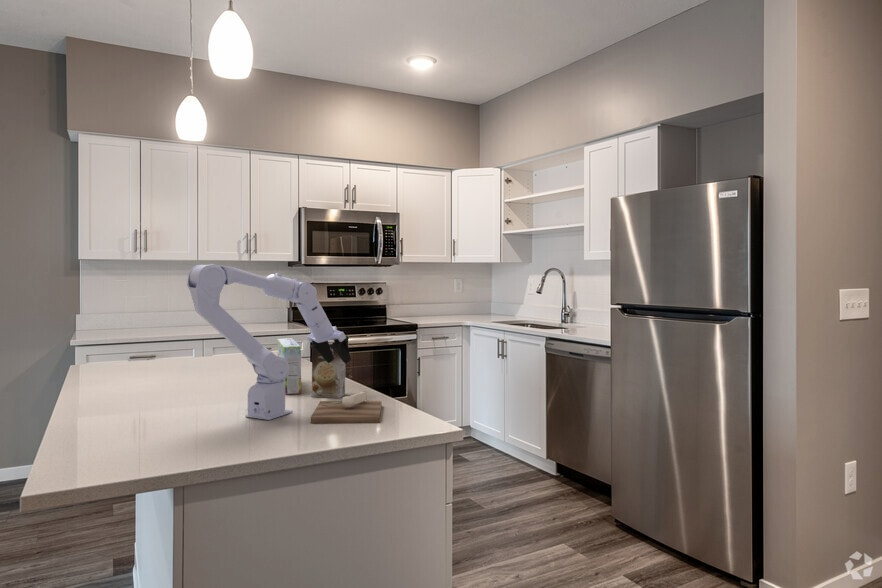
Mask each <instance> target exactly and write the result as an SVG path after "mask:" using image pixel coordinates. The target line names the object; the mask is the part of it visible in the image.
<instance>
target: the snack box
mask: <svg viewBox="0 0 882 588" xmlns="http://www.w3.org/2000/svg"><path fill="white" fill-rule="evenodd" d="M301 349H302V348H301V345H300V344H298V342H297V341H296V340H294V339H293V337H290V338H289V337H286V338H277V356H278V357H282V358H284V359H286V360H287V362H288V364H289V373H288V375H287V376H286V377H285V396H287V395H289V396H290V395H300V394H302V364H301V363H302V358H301V357H302V353H301V352H302V351H301Z"/></svg>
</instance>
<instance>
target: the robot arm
mask: <svg viewBox="0 0 882 588" xmlns="http://www.w3.org/2000/svg"><path fill="white" fill-rule="evenodd" d="M231 284H240V285H245V286H249V287H253V288H258V289H262V291H263V292H264V295H266V296H269V297H273V298H277V299H281V300H286V301H289V302H291V303H294V304H295V303H296V304H295V305H296V307H297V309H298V311H299V313H300V315H301V317H302V318H303V320H304V321H305V323H306V325H307V327H308V329H309V330H310V332H311V333H309V335H307V336H306V338H307V340H308V341H309V342H310V343H312V344H310V345H309V348H310V349H311V350H312V349H313V350H315V351H316V352H317V353H319V354H320V355H321V356H322V357H323V358H324V359H325V360H326V361H327V362H328V363H330V362H331V361H332V360H334V356H333V354H332V352H331V349H330V348H332V349H333V350H334V351H335V352H336V353H337V354H338V355H339V357H340V358H341V359H342V361H343V362H344V363H345V364H349V362H350V361H351V360H352V358H351V353H350V350H349V349H350V347H349V336H348V335H346V334H345V333H344V331H340V330H338V328H337V326H336V325H335V326H332V323H331V322H330V320H329V318H328V316H327V314H326V312H325V310H324V309H323V307H322V305H321V303H320V301H319V300H318V298H317V294H318V291H317V287H315V286H314V285H313V284H311V283H310V282H307V281H306V282H305V281H304V282H303V281H299V279H298V278H294V277H293V278H289V277H286V276H283V274H282V273H279V272H275V274H274V273H271V274H269V275H267V276H263V275H260V274H257V273H253V272H250V271H247V270H243V269H240V268H238V267H233V266H228V265H227V266H226V265H218V264H215V263H209V264H197V265H194V266H193V267H192V268H191V269H190V270H189V272H188V276H187V283H186V285H187V287H188V290H189V291H190V296H191V299H192V304H193V306H194V310H195V312H196V313H197V314H198V315H199V316H201V318H202V319H203V320H204V321H206V323H208V324H209V325H210V326H211V327H212V328H213V329H215V331H217V333H219V334H220V335H221V336H223V338H224V339H225V340H227V341H228V342H229V343H230V344H231V345H232V346H233V347H234V348H236V350H238V352H239V353H241V354H242V355H243V356H245V357H246V359H247V361H248V363H250V365H251V366H252V368H253V371H254V373H255V374H256V375H257V377H256V382H255V384H253V385H251V386H250V387H249V389H248V391H247V414H245V415H244V416H245V417H246V418H252V419H253V418H254V419H260V420H266V421H267V420H268V421H270V420H274V419H276V418H279V417H282V416H286V415H288V414H291V413H293V410H292V409H286V395H285V377H286V376H287V375H288V373H289V364H288V362H287V360H286V359H284V358H282V357H278V355H276V354H275V353H274V352H272V350H270V349H268V348H266V347H265V346H264V345H263V344H261V343H260V342H259V341H258V340H257V338H255V337H254V336H253V335H252V334H251V333H250V332H249V331H248V330H247V329H246V328H244V326H243V325H241V324H240V322H239V321H237V320H236V319H235V318H234V317H233V316H231V315H230V313H228V312H227V311H226V310H225V309H224V308H223V307H222V306H221V305H220V298H221V294H222V290H223V289H224V286H227V285H231ZM331 341H333V342H334V343H333V344H331V345H330V347H329V343H328V342H331Z"/></svg>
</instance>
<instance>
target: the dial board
mask: <svg viewBox="0 0 882 588" xmlns="http://www.w3.org/2000/svg"><path fill="white" fill-rule="evenodd" d="M382 403H383V400H365V401H362V402H360V403H357V404H354V406H353V407H343V400H320V401H319V402H318V404H317V406H316V407H315V409H314V410H313V412H312V414H311V416H310V424H353V423H355V424H356V423H357V424H358V423H359V424H361V423H363V424H364V423H371V424H373V423H375V424H376V423H380V421H381V413H382V406H383V405H382Z"/></svg>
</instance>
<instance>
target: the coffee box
mask: <svg viewBox="0 0 882 588" xmlns="http://www.w3.org/2000/svg"><path fill="white" fill-rule="evenodd" d="M328 343H329V347H330V345H331V344H333V343H334V341H328ZM330 349H331V352H332V354H333V356H334V360H332V361H331V362H330V363H328V362H327V361H326V360H325V359H324V358H323V357H322V356H321V355H320V354H319V353H317V352H316V351H315V350H313V349H311V395H310V396H311V398H328V399H331V398H332V399H340V398H343V397H344V395H346V363H344V362H343V361H342V359H341V358H340V357H339V355H338V354H337V353H336V352H335V351H334V350H333V349H332V348H330Z"/></svg>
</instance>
